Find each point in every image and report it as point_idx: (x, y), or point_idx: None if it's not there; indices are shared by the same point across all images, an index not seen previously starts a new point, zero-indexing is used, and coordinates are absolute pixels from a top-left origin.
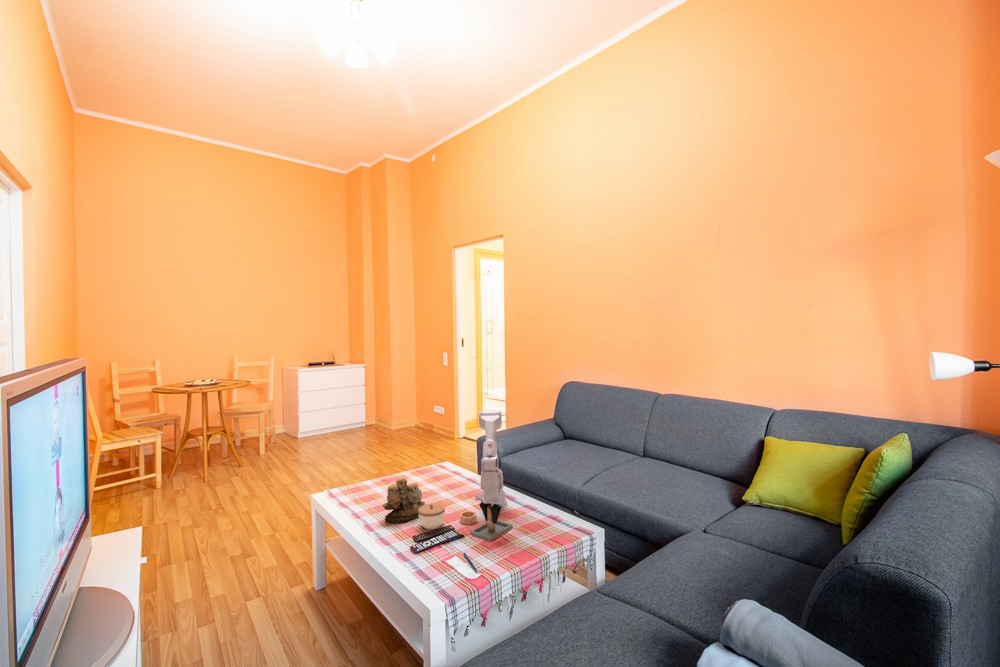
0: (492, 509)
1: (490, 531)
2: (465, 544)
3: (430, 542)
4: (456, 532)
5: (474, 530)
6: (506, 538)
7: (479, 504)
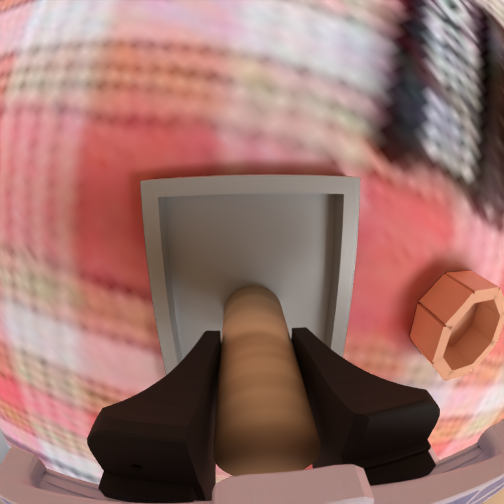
0: (137, 414)
1: (240, 288)
2: (286, 58)
3: (450, 15)
4: (442, 170)
5: (343, 212)
6: (117, 294)
7: (434, 404)
